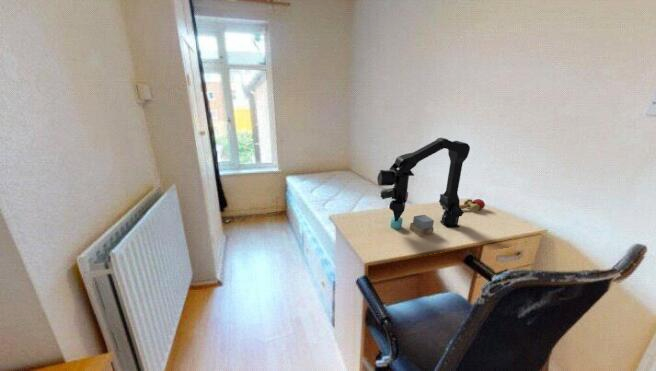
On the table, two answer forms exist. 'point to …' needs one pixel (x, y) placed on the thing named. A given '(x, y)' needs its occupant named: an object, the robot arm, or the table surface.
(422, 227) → the upper block
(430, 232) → the lower block
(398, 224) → the teal rounded dome
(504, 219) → the table surface
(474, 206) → the kendama
